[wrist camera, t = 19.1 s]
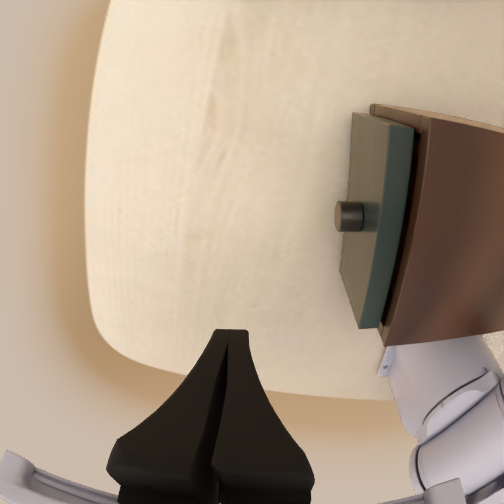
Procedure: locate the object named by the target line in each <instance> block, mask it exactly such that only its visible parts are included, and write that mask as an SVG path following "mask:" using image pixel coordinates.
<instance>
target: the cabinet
mask: <svg viewBox="0 0 504 504" xmlns="http://www.w3.org/2000/svg"><path fill="white" fill-rule="evenodd" d="M370 114H372V115H376V116H379V117H382V118H386V119H389V120H392V121H395V122H398V123H401V124H404V125H407V126H410V127H413V128H414V131H415V132H418V133H420V145H419V155H418V164H417V172H416V180H415V187H414V194H413V201H412V207H411V213H410V219H409V224H408V230H407V235H406V240H405V245H404V250H403V255H402V259H401V264H400V268H399V272H398V277H397V281H396V285H395V289H394V293H393V294H392V292H391V290H390V288H389V291H388V295H387V299H386V303H385V306H384V310H383V314H382V318H381V321H380V325H379V328H377V329H378V331H379V334H380V336H381V339H382V342H383V345H384V346H385V347H388V346H399V345H408V344H417V343H426V342H434V341H442V340H449V339H456V338H462V337H469V336H475V335H481V334H487V333H492V332H498V331H503V330H504V129H503V128H500V127H496V126H492V125H489V124H485V123H481V122H477V121H472V120H468V119H464V118H459V117H454V116H449V115H444V114H439V113H434V112H428V111H422V110H416V109H410V108H403V107H396V106H388V105H380V104H371V113H370Z"/></svg>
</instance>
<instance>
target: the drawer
mask: <svg viewBox="0 0 504 504" xmlns="http://www.w3.org/2000/svg"><path fill="white" fill-rule="evenodd" d="M419 145H420V133H418V132H415V131H414V128H413V127H410V126H407V125H404V124H401V123H398V122H395V121H392V120H389V119H386V118H382V117H379V116H376V115H372V114H365V113H353V114H352V137H351V156H350V172H349V185H348V197H347V201H338V202H337V204H336V208H335V225H336V229H337V231H339V232H344V238H343V246H342V255H341V263H340V270H339V271H340V274H341V277H342V280H343V283H344V286H345V289H346V291H347V294H348V297H349V300H350V303H351V306H352V309H353V312H354V316H355V319H356V322H357V325H358V328H359V329H368V328H379V325H380V321H381V318H382V314H383V310H384V306H385V303H386V299H387V295H388V291H389V288H390V290H391V292H392V294H393V293H394V289H395V285H396V281H397V277H398V272H399V268H400V264H401V259H402V255H403V250H404V245H405V240H406V235H407V230H408V224H409V219H410V213H411V207H412V201H413V194H414V187H415V180H416V172H417V164H418V155H419Z"/></svg>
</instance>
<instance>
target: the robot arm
mask: <svg viewBox="0 0 504 504" xmlns="http://www.w3.org/2000/svg"><path fill="white" fill-rule="evenodd" d="M378 376H380V377H385V376H388V379H389V382H390V385H391V388H392V392H393V395H394V398H395V402H396V405H397V408H398V411H399V415H400V419H401V422H402V424H403V426H404V428H405V429H406V430H407V431H408V432H409V433H410V434H411V435H413V436H414V437H415V438H417V439H418V443H419V444H418V445H417V446H416V447H415V448H414V449H413V451H412V453H411V456H410V461H409V475H410V480H411V484H412V486H413V488H414V491H415V492H416V494H417V495H415V496H410V497H407V498H402V499H398V500H393V501H389V502H384V503H379V504H504V373H503V371H502V370H501V368H500V366H499V364H498V363H497V361H496V359H495V357H494V356H493V354H492V352H491V351H490V349H489V347H488V346H487V344H486V343H485V341H484V339H483V338H482V336H481V335H475V336H469V337H462V338H456V339H449V340H442V341H434V342H426V343H417V344H408V345H399V346H388V347H386V350H385V353H384V356H383V358H382V361H381V364H380V367H379V369H378ZM106 470H107V472H108V473H109V475H110V476H111V477H112V478H113V479H114V480H115V481H116V482H117V483H119V484H120V485H121V487H120V491H119V495H115V494H111V493H107V492H104V491H100V490H97V489H93V488H90V487H87V486H84V485H81V484H78V483H75V482H72V481H70V480H66V479H64V478H61V477H59V476H56V475H53V474H51V473H48V472H46V471H44V470H41V469H39V468H36V467H35V466H34V465H33V464H32V463H31V462H30V461H28V460H27V459H25V458H23V457H22V456H20V455H17V454H15V453H13V452H11V451H9V450H6V452H5V454H4V457H3V459H2V461H1V464H0V497H1V498H2V499H4V500H6V501H7V502H9V503H10V504H220V503H221V504H310V502H311V490H312V487H313V485H314V482H315V479H314V474H313V471H312V469H311V466H310V464H309V461H308V459H307V457H306V455H305V453H304V452H303V450H302V449H301V448H300V447H299V446H298V444H297V443H296V442H295V441H294V439H293V438H292V437H291V435H290V434H289V433H288V431H287V430H286V428H285V427H284V425H283V424H282V422H281V421H280V419H279V418H278V416H277V414H276V413H275V411H274V409H273V407H272V406H271V404H270V402H269V400H268V398H267V396H266V394H265V392H264V390H263V387H262V385H261V383H260V380H259V378H258V375H257V372H256V369H255V366H254V363H253V360H252V356H251V352H250V347H249V333H248V331H247V330H233V329H216V330H215V331H214V332H213V334H212V337H211V339H210V341H209V343H208V344H207V346H206V348H205V350H204V351H203V353H202V355H201V356H200V358H199V359H198V361H197V363H196V364H195V366H194V367H193V369H192V370H191V371H190V373H189V374H188V375H187V377H186V378H185V380H184V381H183V382H182V383H181V385H180V386H179V387H178V388H177V390H176V391H175V392H174V393H173V394H172V395H171V396H170V397H169V398H168V399H167V400H166V401H165V402H164V403H163V404H162V405H161V406H160V407H159V408H158V409H157V410H156V411H155V412H154V413H153V414H151V415H150V416H149V417H148V418H147V419H145V420H144V421H143V422H142V423H140V424H139V425H138V426H136V427H135V428H134V429H132V430H131V431H129V432H128V433H126V434H125V435H123V436H122V437H120V438H119V439H117V441H116V443H115V445H114V447H113V449H112V451H111V454H110V457H109V460H108V464H107V467H106Z"/></svg>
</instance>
